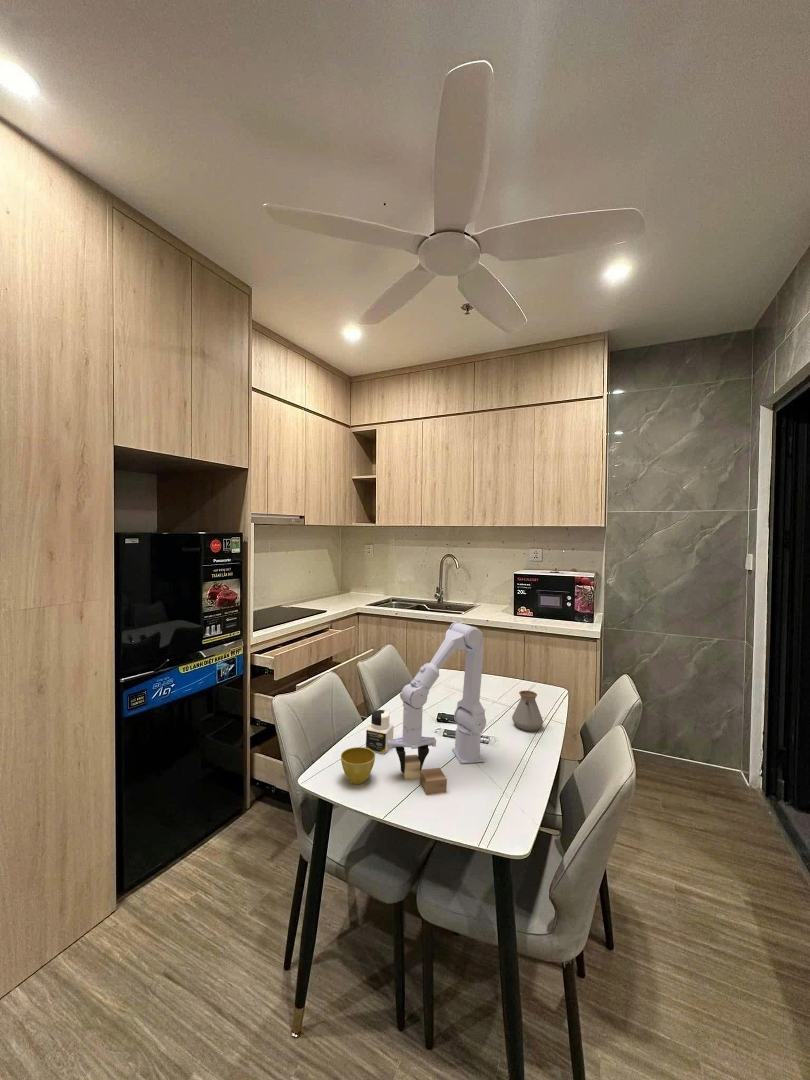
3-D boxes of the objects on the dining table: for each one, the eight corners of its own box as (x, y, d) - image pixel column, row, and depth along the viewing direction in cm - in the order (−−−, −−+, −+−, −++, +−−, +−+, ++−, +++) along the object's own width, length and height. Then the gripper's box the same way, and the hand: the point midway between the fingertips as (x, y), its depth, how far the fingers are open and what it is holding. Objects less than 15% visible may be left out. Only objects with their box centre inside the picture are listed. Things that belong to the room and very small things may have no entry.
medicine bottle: (365, 750, 146) (366, 714, 146) (374, 740, 152) (375, 706, 152) (385, 754, 143) (386, 718, 143) (393, 744, 150) (394, 710, 150)
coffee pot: (513, 718, 175) (514, 681, 175) (543, 723, 171) (544, 685, 171) (507, 742, 155) (509, 699, 155) (541, 748, 151) (543, 705, 151)
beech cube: (402, 771, 133) (402, 755, 133) (416, 770, 134) (417, 754, 134) (404, 779, 129) (405, 763, 129) (419, 778, 130) (420, 762, 130)
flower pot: (357, 766, 136) (358, 743, 135) (381, 778, 129) (382, 754, 129) (332, 779, 128) (333, 755, 128) (357, 793, 121) (357, 768, 121)
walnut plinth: (419, 783, 128) (420, 769, 128) (439, 781, 129) (439, 767, 129) (426, 795, 122) (426, 781, 122) (446, 792, 124) (446, 778, 124)
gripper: (390, 732, 126) (389, 779, 126) (439, 730, 129) (437, 776, 129) (387, 722, 133) (385, 766, 133) (433, 720, 136) (431, 763, 136)
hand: (410, 770), depth 132 cm, fingers closed on beech cube, 4 cm apart
